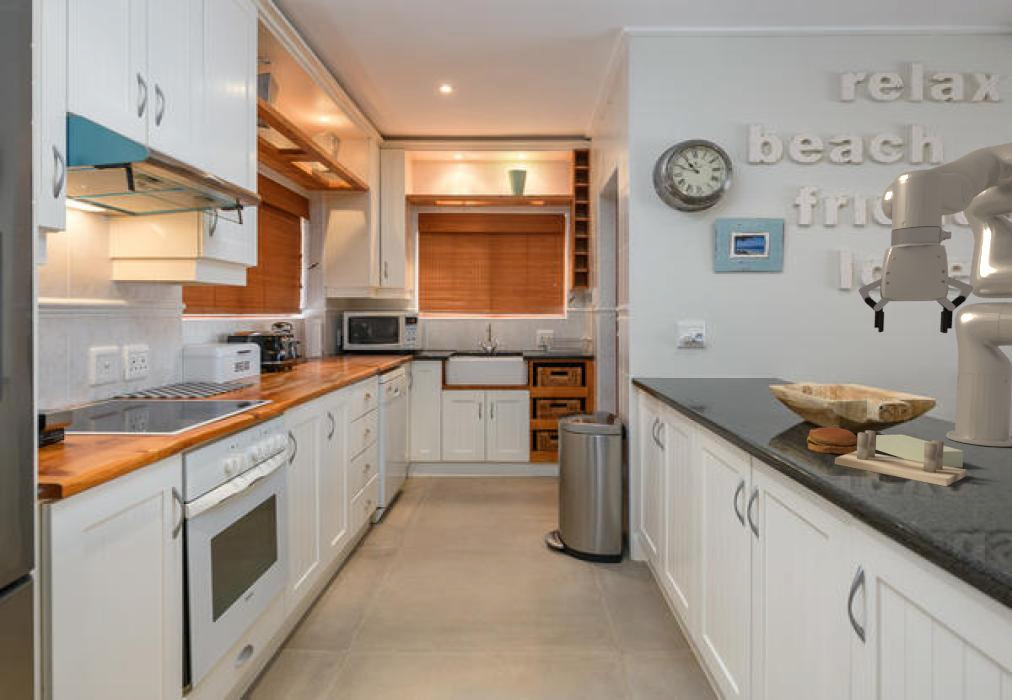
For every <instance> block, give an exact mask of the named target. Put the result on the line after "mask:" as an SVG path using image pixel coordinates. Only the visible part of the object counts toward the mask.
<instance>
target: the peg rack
mask: <svg viewBox="0 0 1012 700" xmlns="http://www.w3.org/2000/svg"><path fill="white" fill-rule="evenodd" d="M876 433H877V432H876V431H874V430H869V429H868V430H865V431H864V432H860V431H859V432H857V451H855V452H852V453H849V454H842V455H840V456H836V457H834V465H837V466H839V465H840V466H842V467H848V468H853V469H859V470H864V471H869V472H874V473H877V474H883V475H888V476H893V477H899V478H902V479H908V480H913V481H917V482H922V483H923V482H924V483H929V484H933V485H939V486H944V487H948V486H950V485H952V484H953V483H956V482H958V481H960V480H962V479H964V478H965V477H967V469H965V468H960V467H948V466H943V447H944V446H945V443H944V441H943V440H937V439H934V440H933V439H932V440H931V441H930V442H931V443H925V444H924V462H920V461H914V460H908V459H904V458H901V457H898V456H896V457H895V456H891V455H884V454H880V453H879V454H878V453H876V435H877V434H876Z"/></svg>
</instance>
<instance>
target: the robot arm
mask: <svg viewBox="0 0 1012 700" xmlns="http://www.w3.org/2000/svg"><path fill="white" fill-rule="evenodd" d="M881 197H882V198H881V210H882V212H883V214H884V215H885V217H886V218H887V219H889V220H891V233H890V234H891V235H890V247H888V248H887V249H885V252H884V256H883V260H882V266H881V274H880V275H881V277H880V279H877V280H875V281H873V282H871V283H868V284H866V285H864V286H862V287H859V289H858V293H859V295H860V296H861V298H862V299H863V301H864V303H865V304H866V305H867V306H869V308H871V309H872V310H873V311H874V325H873V327H874V329H878V333H883V332H884V328H885V311H884V307H885V306H886V305H887V304H888V303H890V302H931V301H936V302H937V303H938V304H939V305H940V306H942V311H941V312H940V325H939V327H940V328H939V329H940V333H942V334H948V332H949V331H948V329H953V314H954V313H953V311H955V309H957V308H958V307H960V306H961V305H962V304H964V303H965V302H966V300H967V299H968V298H969V296H970V295H971V294H972V295H973V296H975V297H978V298H981V299H1012V221H1011V220H1009V219H1008V218H1007V217H1005V216H1004V214H1005V215H1006V214H1012V142H1008V143H1003V144H998V145H992V146H988V147H982V148H979V149H975V150H973V151H971V152H968V153H967V154H964V155H963V156H960V157H959V158H957V159H955V160H953V161H950V162H946V163H943V164H941V165H937V166H935V167H932V168H929V169H917V170H916V169H915V170H910V171H907V172H902V173H901V174H898V176H897V177H896V178H895V179H894V181H893V182H892V183H891V184H889V186H887V188H886V189H885V190H884V192H883V195H882V196H881ZM961 212H963V214H964V216H965V217H964V218H965V219H966V221H967V223H968V225H969V227H970V229H971V232H972V234H973V238H974V239H973V240H974V243H973V244H974V245H973V253H972V260H971V267H970V273H969V284H968V283H965V282H963V281H961V280H958V279H956V278H953V277H952V276H951V277H950V276H949V262H948V254H947V249H946V246H945V245H944V244H942V242H943V241H946V240H951V239H952V231H946V230H944V229H943V227H942V220H943V219H942V218H943V216H949V215H954V214H958V213H961ZM941 244H942V245H941ZM949 286H950V287H953V288H955V289H958V290H959V294H958V295H957V297H955V298H954V299H953V300H951V301H950V299H949V298H948V297H947V296H949V295H948V294H949ZM879 287H880V288H879ZM877 288H879V289H880V290H879V293H880V294H879V295H880V300H879V301H875V300H874V298H872V297H871V296H870V294H869V293H870V292H871V291H872V290H875V289H877ZM954 328H955V335H956V341H957V355H958V356H957V378H956V380H957V381H956V383H957V384H956V402H955V421H954V422H955V423H954V425H955V427H954V430H949V431H947V432H946V438H947V439H948V440H951V441H954V442H959V443H964V444H969V445H976V446H986V447H987V446H988V447H998V448H999V447H1001V448H1004V447H1005V448H1006V447H1012V436H1011V435H1010V426H1011V425H1010V423H1011V406H1012V362H1011V360H1010V359H1009V357H1008V356H1007V355H1006V354H1005V352H1003V350H1002V349H1001V348H1000V347H1002V346H1003V347H1004V346H1009V347H1010V346H1011V347H1012V302H1011V301H1010V302H1007V301H1005V302H1004V301H1003V302H1002V301H999V302H976V303H971V304H967V305H965V306H963V307H961V308H960V309H958V311H957V313H956V314H955V317H954Z"/></svg>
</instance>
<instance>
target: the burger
mask: <svg viewBox="0 0 1012 700" xmlns="http://www.w3.org/2000/svg"><path fill="white" fill-rule="evenodd" d="M857 438H858V436H857V435H856V434H854V433H853V432H852V431H850V430H848V429H844V428H840V427H838V428H837V427H832V426H831V427H818V428H811V429H809V432H808V436H807V438H806V443H807V448H808V450H810V451H813V452H816V453H821V454H835V455H846V454H849V453H852V452H855V451H857Z"/></svg>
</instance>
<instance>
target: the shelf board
mask: <svg viewBox="0 0 1012 700" xmlns="http://www.w3.org/2000/svg"><path fill="white" fill-rule="evenodd" d="M925 443H931V441H929V440H925V439H920V438H917V437H913V436H910V435H906V434H876V441H875V451H880V452H882V453H885V454H889V455H890V456H891V455H892V456H894V457H895V456H896V457H897V458H903V459H908V460H914V461H920V462H924V444H925ZM963 461H964V450H961V449H957V448H954V447H950V446H946V445H944V447H943V466H948V467H954V468H963V466H964V465H963V464H964V462H963Z"/></svg>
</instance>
